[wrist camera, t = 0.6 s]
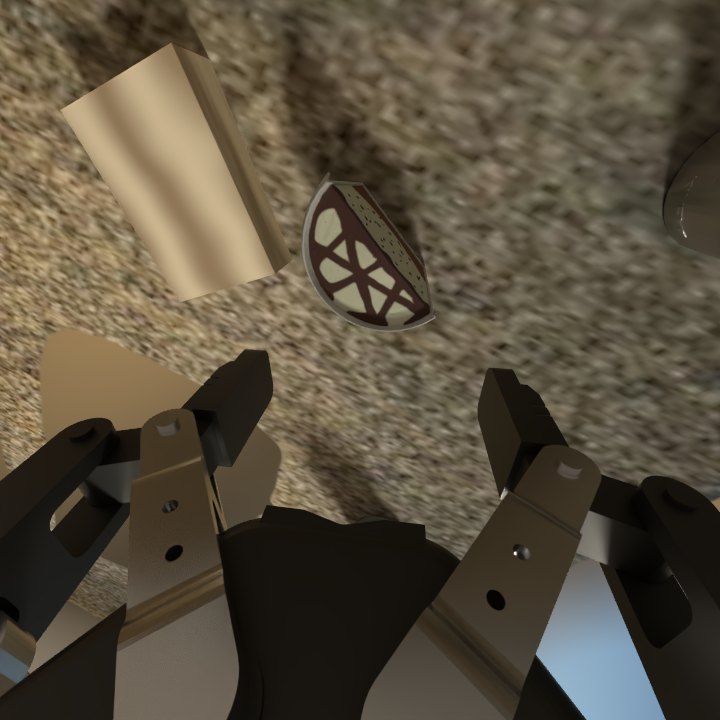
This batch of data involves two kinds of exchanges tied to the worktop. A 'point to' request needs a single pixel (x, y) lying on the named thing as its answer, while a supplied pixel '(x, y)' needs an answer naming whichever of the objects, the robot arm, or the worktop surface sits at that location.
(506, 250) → the worktop surface
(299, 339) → the worktop surface
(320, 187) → the food container
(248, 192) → the maple block
